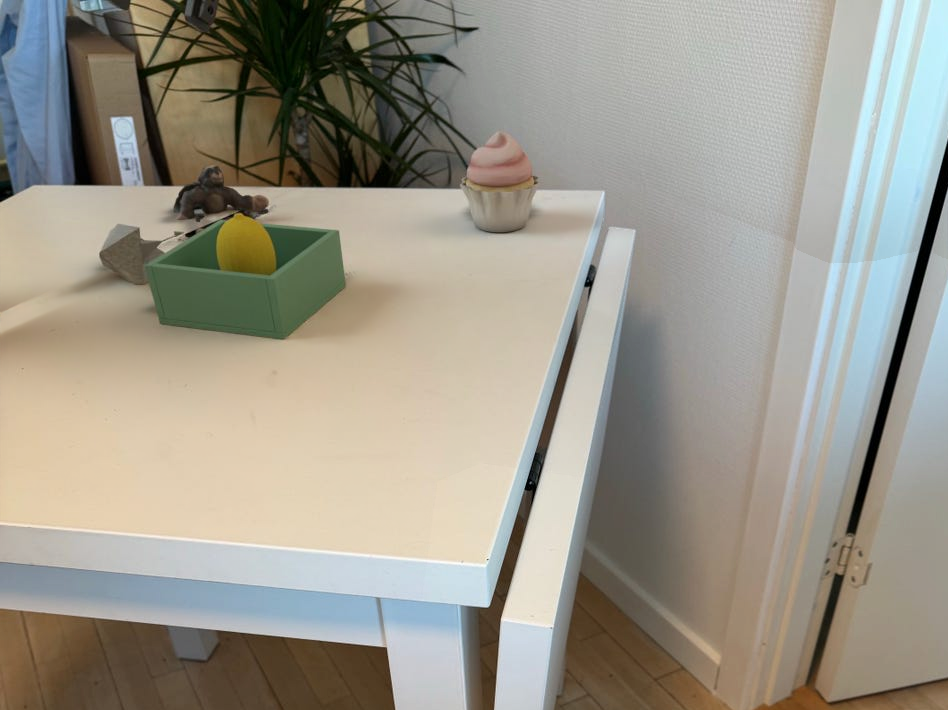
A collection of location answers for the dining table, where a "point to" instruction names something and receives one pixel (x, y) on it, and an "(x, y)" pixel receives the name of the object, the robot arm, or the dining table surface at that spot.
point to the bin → (248, 283)
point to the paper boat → (130, 252)
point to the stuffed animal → (215, 199)
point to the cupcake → (500, 185)
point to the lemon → (245, 247)
